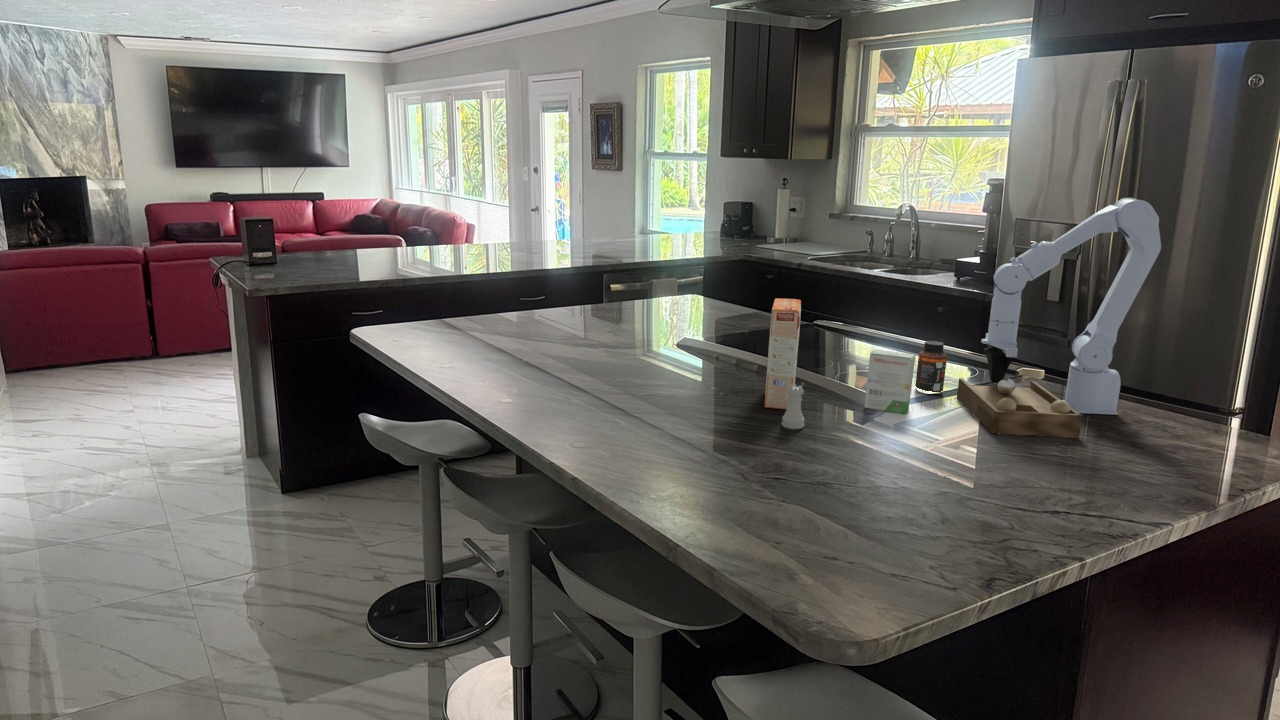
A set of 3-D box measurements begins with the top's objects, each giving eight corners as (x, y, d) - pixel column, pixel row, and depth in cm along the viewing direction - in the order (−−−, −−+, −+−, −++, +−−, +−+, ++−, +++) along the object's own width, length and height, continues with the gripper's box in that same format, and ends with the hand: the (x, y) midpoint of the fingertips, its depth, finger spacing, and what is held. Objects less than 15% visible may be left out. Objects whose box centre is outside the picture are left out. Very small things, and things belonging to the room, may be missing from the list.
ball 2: (1064, 415, 166) (1066, 398, 166) (1071, 420, 163) (1074, 403, 162) (1046, 414, 167) (1048, 397, 166) (1053, 419, 163) (1055, 402, 163)
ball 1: (1011, 412, 167) (1013, 396, 166) (1017, 418, 164) (1020, 401, 163) (993, 411, 167) (995, 395, 166) (999, 417, 164) (1001, 400, 163)
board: (1031, 401, 186) (1034, 381, 185) (1078, 438, 163) (1082, 415, 161) (956, 398, 187) (959, 378, 186) (992, 434, 164) (995, 411, 162)
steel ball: (1010, 392, 181) (1013, 376, 180) (1016, 396, 178) (1018, 381, 177) (994, 391, 181) (996, 376, 181) (999, 396, 178) (1002, 380, 177)
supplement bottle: (944, 396, 188) (950, 346, 185) (916, 394, 189) (921, 344, 186) (940, 389, 193) (946, 340, 190) (913, 387, 194) (918, 338, 192)
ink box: (863, 408, 178) (869, 353, 175) (868, 402, 182) (873, 348, 179) (906, 414, 174) (912, 358, 171) (910, 408, 179) (916, 353, 176)
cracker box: (793, 411, 174) (800, 310, 169) (763, 408, 175) (769, 308, 170) (795, 392, 188) (802, 298, 182) (767, 390, 189) (773, 296, 184)
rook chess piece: (806, 424, 166) (809, 384, 164) (802, 431, 162) (805, 390, 160) (783, 421, 168) (786, 382, 166) (779, 428, 164) (781, 388, 162)
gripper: (974, 313, 190) (967, 372, 193) (996, 326, 176) (987, 390, 179) (1007, 314, 189) (999, 373, 193) (1031, 328, 175) (1022, 391, 179)
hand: (995, 381), depth 186 cm, fingers closed
